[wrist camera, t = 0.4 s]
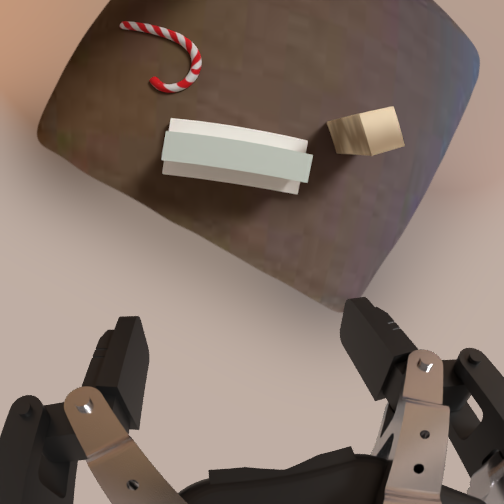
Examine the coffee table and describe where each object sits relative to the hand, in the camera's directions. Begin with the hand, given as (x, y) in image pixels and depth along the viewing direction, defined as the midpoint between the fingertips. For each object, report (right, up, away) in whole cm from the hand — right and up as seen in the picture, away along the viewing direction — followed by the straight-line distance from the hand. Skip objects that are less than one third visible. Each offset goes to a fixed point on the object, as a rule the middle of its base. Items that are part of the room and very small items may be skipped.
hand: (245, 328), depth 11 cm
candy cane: (-12, +29, +19) cm, 37 cm away
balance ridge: (-2, +15, +24) cm, 29 cm away
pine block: (+13, +19, +25) cm, 34 cm away
